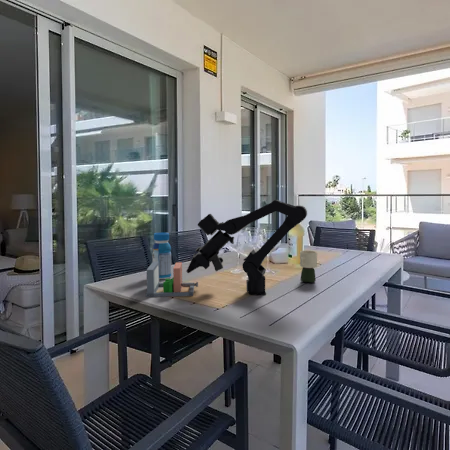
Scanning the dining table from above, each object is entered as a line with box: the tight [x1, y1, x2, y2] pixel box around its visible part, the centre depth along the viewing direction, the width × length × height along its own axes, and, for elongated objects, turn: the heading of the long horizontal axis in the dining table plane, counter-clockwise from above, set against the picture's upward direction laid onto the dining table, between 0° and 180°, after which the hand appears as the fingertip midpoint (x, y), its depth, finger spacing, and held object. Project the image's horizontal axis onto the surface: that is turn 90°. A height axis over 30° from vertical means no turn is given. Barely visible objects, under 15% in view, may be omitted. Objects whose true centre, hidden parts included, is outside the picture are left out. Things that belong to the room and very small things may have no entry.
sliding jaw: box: [172, 261, 199, 292], centre depth 140 cm, size 9×11×10 cm
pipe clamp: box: [162, 277, 174, 292], centre depth 139 cm, size 11×4×5 cm, turn 0°
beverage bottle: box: [151, 232, 172, 280], centre depth 160 cm, size 8×8×20 cm
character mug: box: [299, 250, 318, 283], centre depth 153 cm, size 11×7×13 cm, turn 133°
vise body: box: [145, 261, 195, 297], centre depth 140 cm, size 17×15×10 cm
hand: (187, 272), depth 140 cm, fingers closed
